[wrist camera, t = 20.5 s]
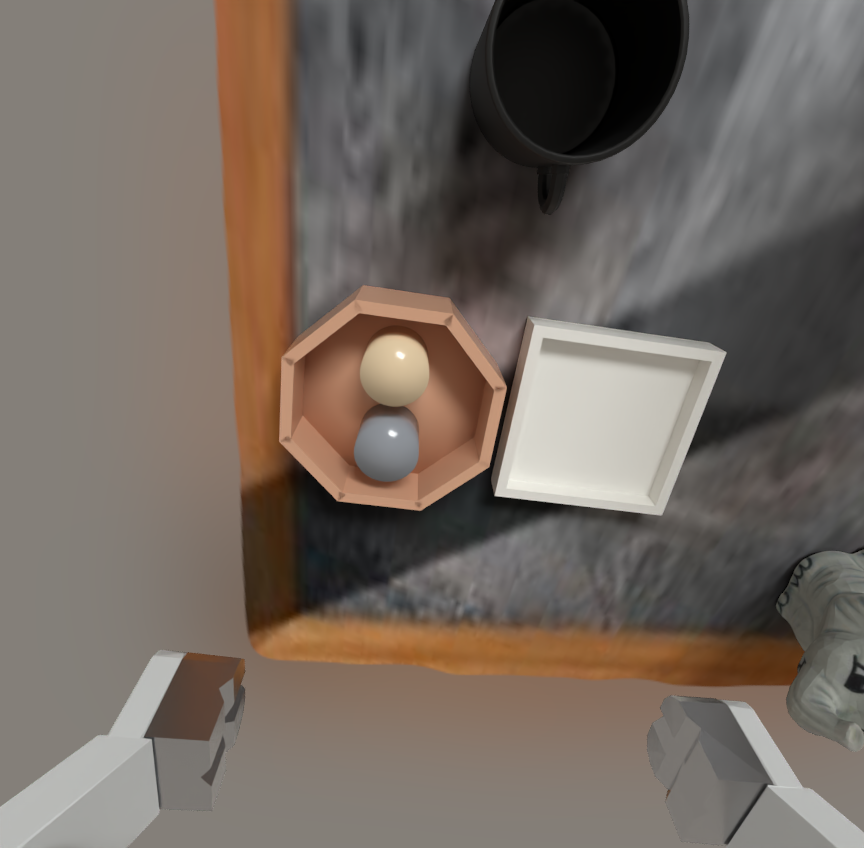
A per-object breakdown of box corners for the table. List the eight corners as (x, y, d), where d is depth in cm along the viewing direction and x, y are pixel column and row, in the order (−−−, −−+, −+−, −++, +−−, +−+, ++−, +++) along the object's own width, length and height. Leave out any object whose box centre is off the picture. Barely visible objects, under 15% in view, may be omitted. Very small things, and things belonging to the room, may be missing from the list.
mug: (462, 207, 35) (474, 216, 27) (474, -18, 30) (494, -91, 22) (601, 213, 36) (654, 222, 27) (636, -9, 31) (714, -79, 22)
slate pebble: (422, 406, 40) (422, 428, 37) (415, 458, 42) (414, 485, 38) (362, 399, 40) (356, 420, 36) (358, 452, 42) (351, 478, 38)
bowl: (509, 306, 38) (521, 323, 34) (472, 482, 44) (478, 517, 40) (300, 276, 37) (283, 289, 32) (292, 461, 43) (277, 494, 39)
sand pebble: (430, 327, 38) (431, 343, 34) (425, 387, 40) (426, 408, 36) (366, 323, 37) (360, 338, 34) (364, 383, 39) (358, 404, 36)
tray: (709, 342, 40) (726, 352, 37) (649, 498, 45) (661, 515, 43) (527, 316, 38) (534, 324, 36) (490, 479, 44) (494, 495, 42)
